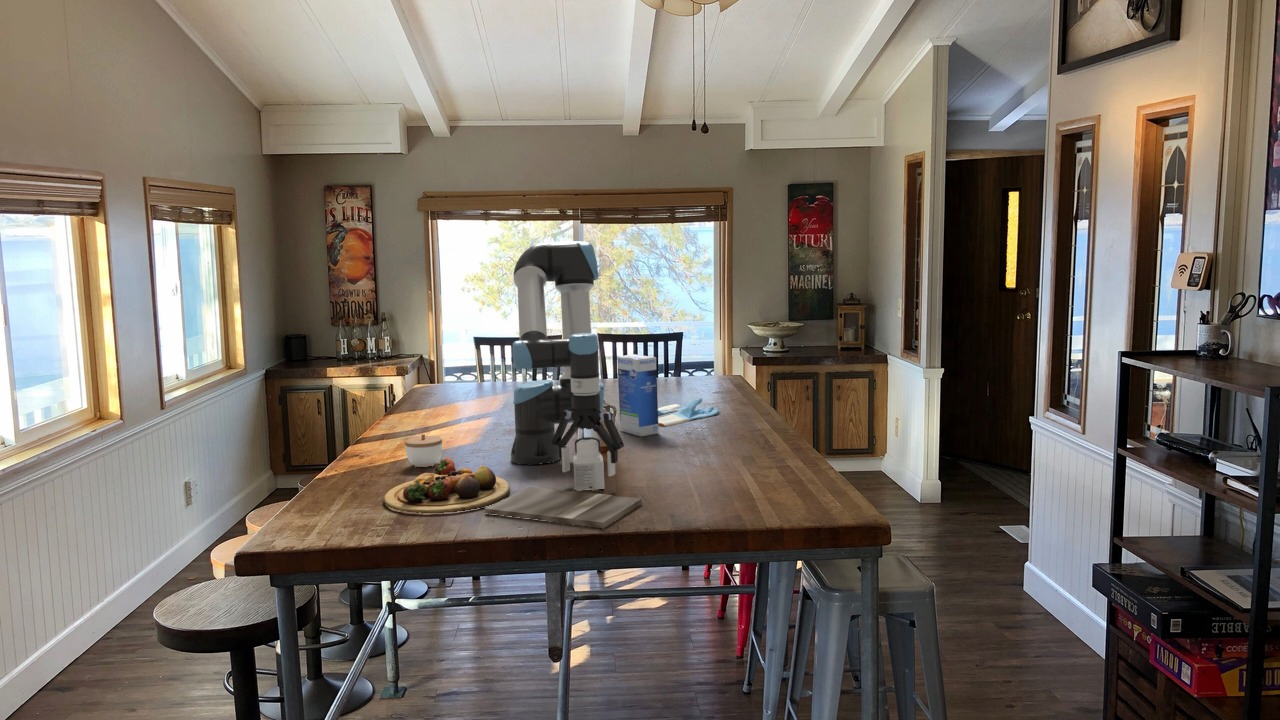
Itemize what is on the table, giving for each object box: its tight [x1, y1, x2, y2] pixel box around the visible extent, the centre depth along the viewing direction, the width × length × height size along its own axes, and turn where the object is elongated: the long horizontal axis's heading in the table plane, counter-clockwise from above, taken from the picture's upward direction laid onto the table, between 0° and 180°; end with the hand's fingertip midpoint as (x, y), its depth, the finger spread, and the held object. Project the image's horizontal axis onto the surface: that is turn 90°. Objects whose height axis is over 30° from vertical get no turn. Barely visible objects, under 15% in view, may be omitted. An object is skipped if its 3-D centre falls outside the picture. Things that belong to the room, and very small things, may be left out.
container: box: [572, 436, 605, 491], centre depth 238 cm, size 8×8×13 cm
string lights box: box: [616, 353, 660, 437], centre depth 303 cm, size 13×8×26 cm, turn 34°
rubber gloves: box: [658, 397, 720, 428], centre depth 333 cm, size 27×33×6 cm
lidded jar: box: [404, 433, 443, 466], centre depth 267 cm, size 11×11×9 cm
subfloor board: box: [484, 486, 643, 530], centre depth 219 cm, size 32×20×2 cm, turn 65°
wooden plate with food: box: [383, 457, 511, 513], centre depth 233 cm, size 32×32×8 cm
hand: (588, 473), depth 238 cm, fingers open, 13 cm apart
